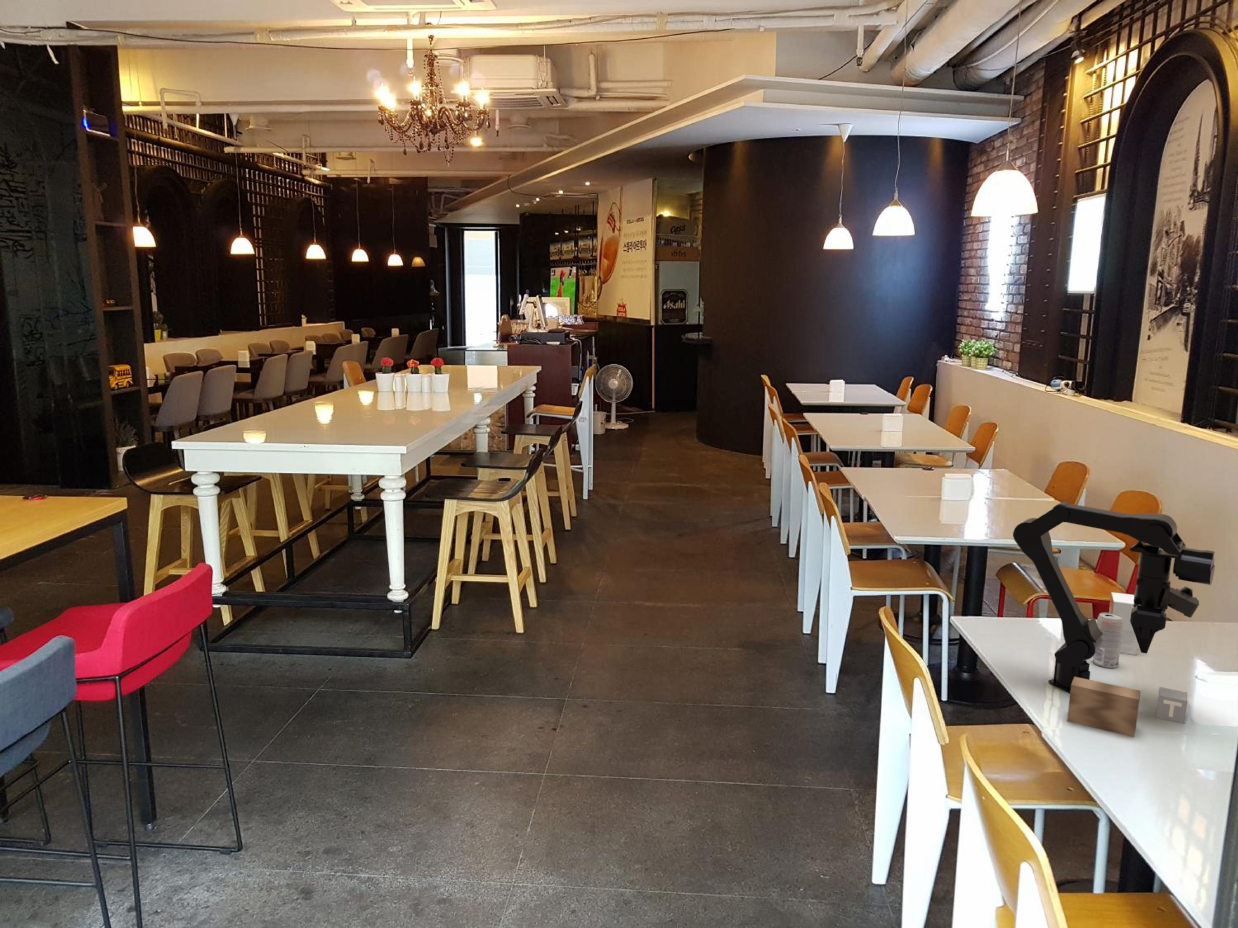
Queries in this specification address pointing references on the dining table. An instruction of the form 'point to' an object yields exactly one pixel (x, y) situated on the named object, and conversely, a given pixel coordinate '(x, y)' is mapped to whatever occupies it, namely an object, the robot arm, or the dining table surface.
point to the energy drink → (1109, 640)
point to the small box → (1125, 621)
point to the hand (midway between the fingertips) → (1144, 645)
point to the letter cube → (1172, 705)
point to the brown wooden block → (1104, 706)
